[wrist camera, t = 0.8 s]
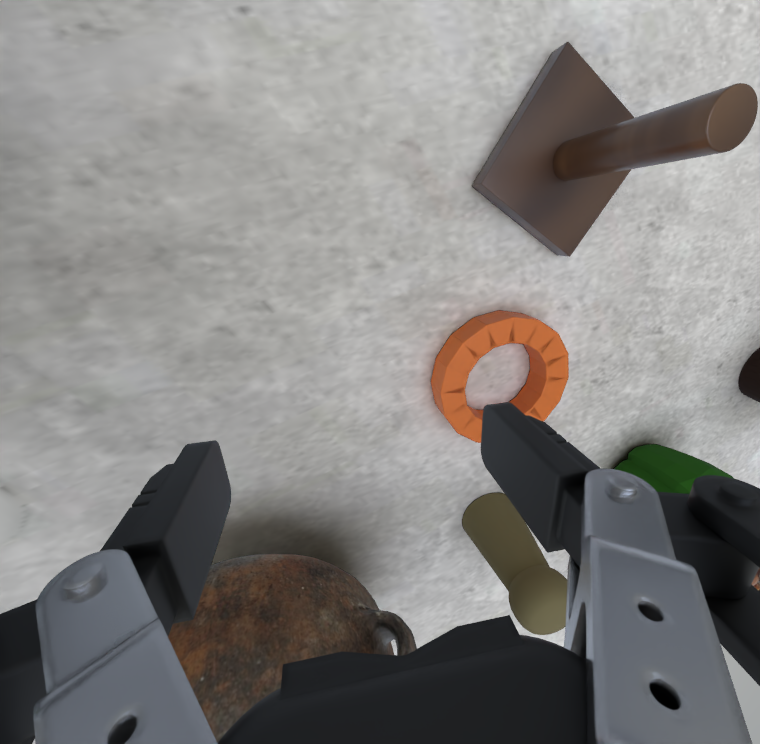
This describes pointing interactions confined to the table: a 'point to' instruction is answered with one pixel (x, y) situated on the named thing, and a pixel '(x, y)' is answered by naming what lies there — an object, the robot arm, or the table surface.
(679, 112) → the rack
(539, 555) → the cork
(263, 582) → the jug
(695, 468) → the bell pepper
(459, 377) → the orange ridged ring
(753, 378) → the coffee mug
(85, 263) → the table surface
